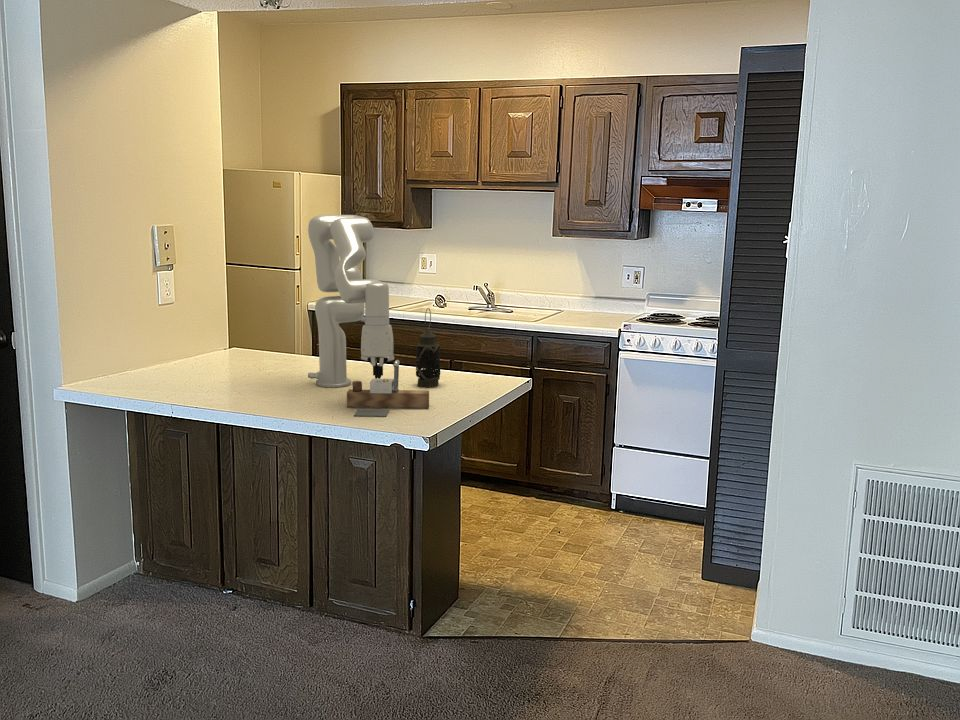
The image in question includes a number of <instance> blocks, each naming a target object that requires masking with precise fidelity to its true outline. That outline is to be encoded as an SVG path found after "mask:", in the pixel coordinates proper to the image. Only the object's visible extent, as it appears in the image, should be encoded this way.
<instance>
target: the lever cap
mask: <svg viewBox="0 0 960 720" xmlns="http://www.w3.org/2000/svg"><path fill="white" fill-rule="evenodd" d="M369 390H370V393H392V392H393V391H394V378H380V379H378V378H377V379H375V378H371V380H370V381H369Z"/></svg>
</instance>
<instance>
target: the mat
mask: <svg viewBox="0 0 960 720" xmlns="http://www.w3.org/2000/svg"><path fill="white" fill-rule="evenodd" d="M389 412H390V410H389V409H357V410H356V411H355V412H354V414H353V417H356V418H357V417H358V418H360V417H363V418H365V417H366V418H370V417H371V418H387V416H388V415H389Z"/></svg>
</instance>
